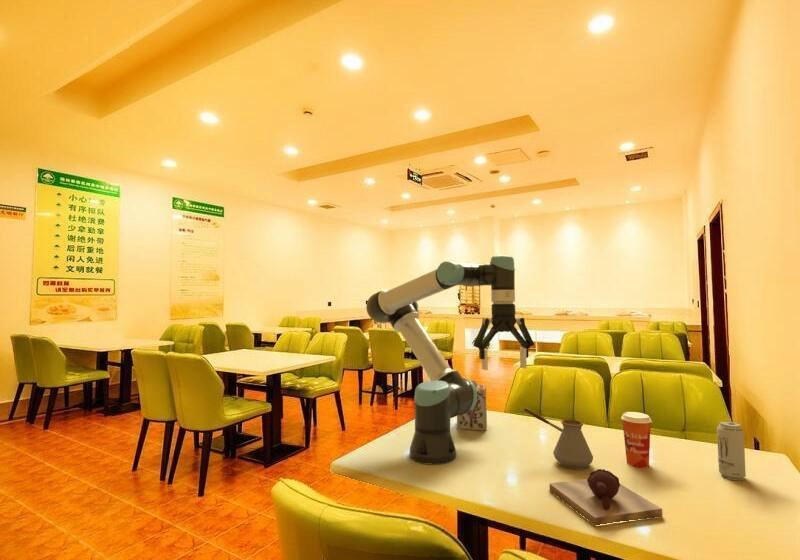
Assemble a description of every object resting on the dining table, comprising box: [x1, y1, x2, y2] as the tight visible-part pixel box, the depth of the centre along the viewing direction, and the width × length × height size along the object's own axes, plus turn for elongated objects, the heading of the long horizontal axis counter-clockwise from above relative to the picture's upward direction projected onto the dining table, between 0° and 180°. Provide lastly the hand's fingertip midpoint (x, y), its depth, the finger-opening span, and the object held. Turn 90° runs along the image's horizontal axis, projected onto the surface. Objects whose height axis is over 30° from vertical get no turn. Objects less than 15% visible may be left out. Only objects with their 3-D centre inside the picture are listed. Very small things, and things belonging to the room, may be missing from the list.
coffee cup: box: [620, 411, 653, 469], centre depth 128 cm, size 8×8×15 cm
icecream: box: [586, 468, 621, 509], centre depth 102 cm, size 7×7×15 cm
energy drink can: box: [716, 420, 747, 481], centre depth 119 cm, size 6×6×15 cm
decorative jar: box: [456, 379, 488, 432], centre depth 167 cm, size 12×12×18 cm
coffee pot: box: [521, 408, 594, 470], centre depth 131 cm, size 21×12×15 cm, turn 54°
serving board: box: [549, 478, 663, 526], centre depth 103 cm, size 18×18×2 cm
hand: (504, 368), depth 134 cm, fingers open, 13 cm apart
